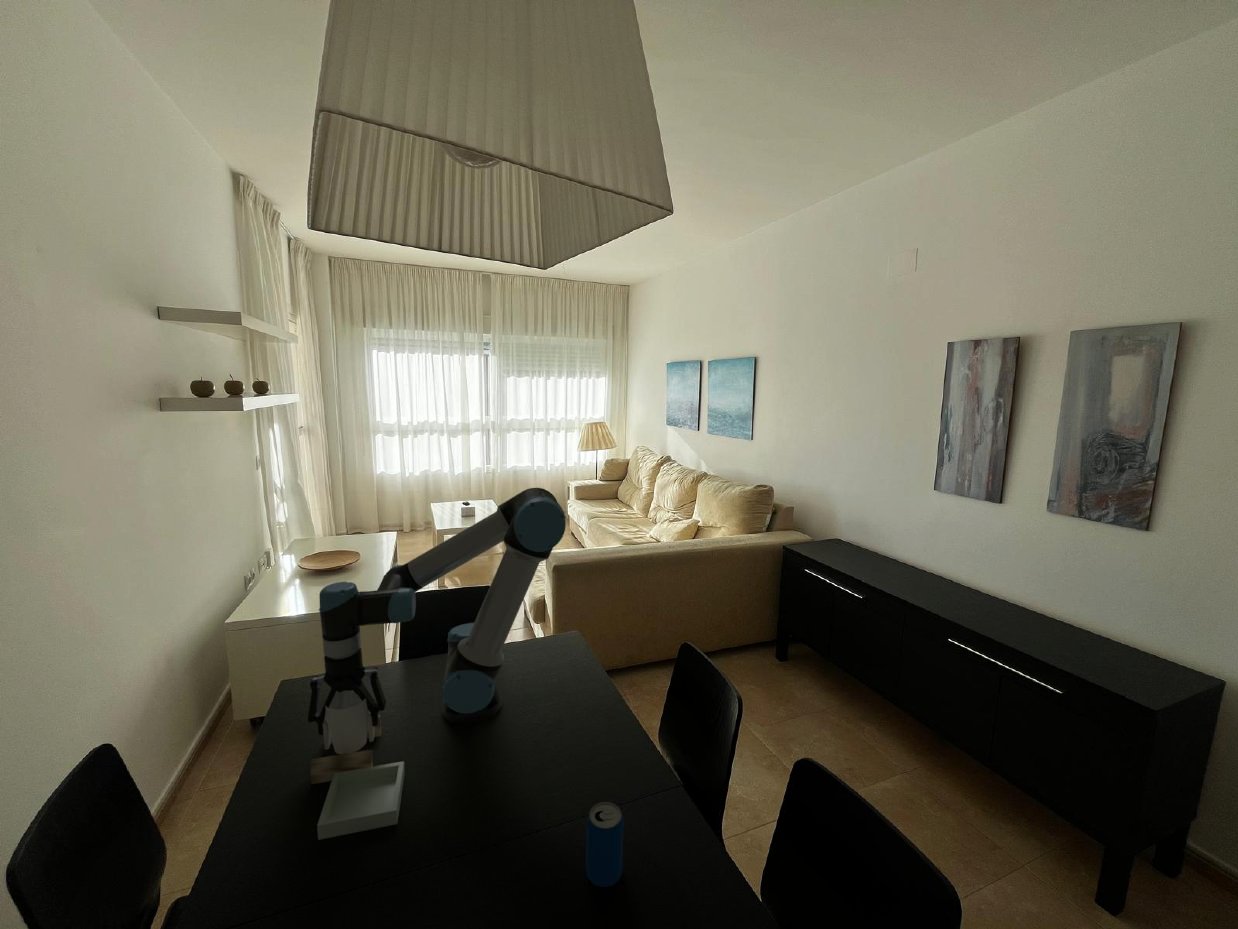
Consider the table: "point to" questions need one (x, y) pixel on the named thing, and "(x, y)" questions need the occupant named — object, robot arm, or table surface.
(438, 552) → the robot arm
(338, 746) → the cup
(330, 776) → the rest
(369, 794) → the tray
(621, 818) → the beverage can
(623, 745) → the table surface
